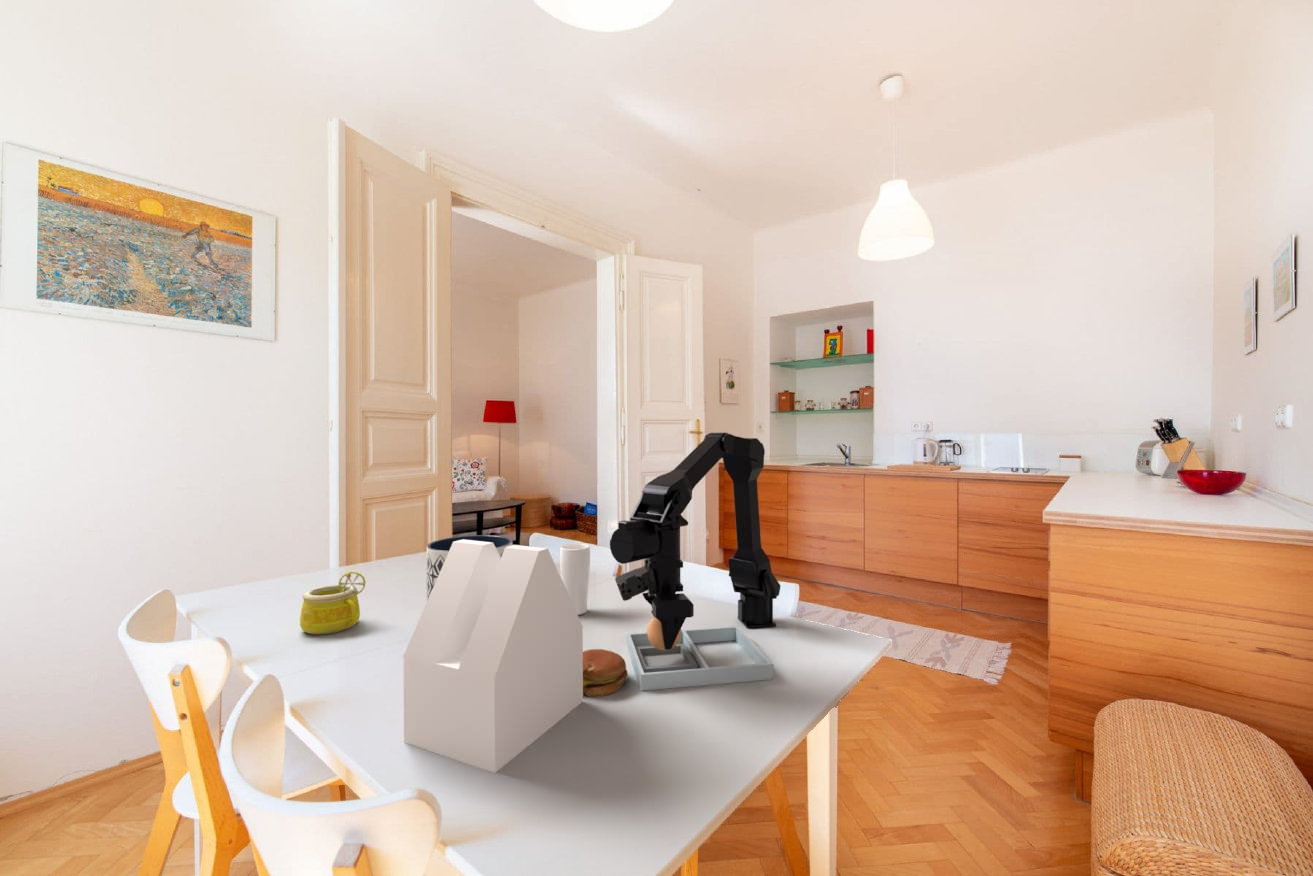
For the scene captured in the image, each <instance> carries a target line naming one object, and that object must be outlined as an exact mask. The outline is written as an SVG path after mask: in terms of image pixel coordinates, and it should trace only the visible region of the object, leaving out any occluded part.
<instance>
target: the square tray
mask: <svg viewBox="0 0 1313 876" xmlns="http://www.w3.org/2000/svg"><path fill="white" fill-rule="evenodd" d="M635 649H636V652H637V655H638V658H639V660H640V663H641V666H642V669H643V671H644V673H650V672H662V671H674V670H687V669H698V665H697V663H696V662H695V660H694V658H693V657H692V655H691V653H690V652H689V650H688V648H687V647H686V645H685V643H684V644H677V645H676V646H675V647H674V648H672V649H670V650H659V649H657V648H655V647H654V646H643V647H635Z"/></svg>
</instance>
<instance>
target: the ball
mask: <svg viewBox="0 0 1313 876" xmlns="http://www.w3.org/2000/svg"><path fill="white" fill-rule="evenodd" d="M681 630H682V628H681V629H680V631H679V633H678V635H677V638H676V640H675V642H674V644H673V646H672V648H674V647H675V646H676V645H677V644H678V642H679V641H680V638H681ZM647 635H648V639H649V641H650V643H651V644H652V645H653V646H654V647H655V648H657V649H659V650H666V649H665V647H664V642H663V636H662V631H661V625H660V621H659V620H658V619H656V618H655V617H654V616H653V618H652V619H651V620H650V622H649V624H648V626H647ZM669 650H670V649H669Z"/></svg>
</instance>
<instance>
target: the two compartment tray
mask: <svg viewBox="0 0 1313 876" xmlns="http://www.w3.org/2000/svg"><path fill="white" fill-rule="evenodd" d="M726 641H735V642H736V643H737V644H738V645H739V646H740V647H741V649H742V650H743V651H744V652H745V653H746V654H747V655H748V657H749V658H750V659H751V660H752V661H753V662H754V663H750V664H738V665H726V666H713V667H712V666H711V667H709V665H708V664H707V662H706V661H705V658H704V657H703V656H702V655H701V653H700V652H699V650H698V648H697V647H696V645H695V644H699V643H714V642H715V643H716V642H726ZM684 643H685V645H686V647H687V648H688V650H689V652H690V653H691V655H692V657H693V658H694V660H695V662H696V663H697V665H698V669H687V670H674V671H662V672H650V673H644V671H643V669H642V666H641V663H640V660H639V658H638V655H637V652H636V649H635V647H643V646H653V645H652V644H651V643H650V641H649V639H648V635H647V632H635V633H634V632H629V633H626V649H627V653H628V654H629V658H630V660H631V664H632V667H633V671H634V675H635V676H636V679H637V683H638V687H639V689H640V692H643V691H653V690H664V689H666V690H667V689H676V688H687V687H688V688H689V687H698V686H699V687H700V686H709V685H710V686H711V685H721V684H733V683H742V682H744V683H745V682H755V681H758V682H759V681H767V680H769V681H770V680H774V675H773V674H774V664H773V663H772V661H770V659H769V658H768V657H767V656H766V655H765V654H764V653H763V652H762V651H761V650H760V649H759V647H757V646H756V644H755V643H754V642H753V641H752V640H751V639H750V637H748V636H747V635H746V634H745V632H744V631H742V629H741V628H740V627H739V626H738V625H736V626H735V625H734V626H718V627H706V628H705V627H704V628H693V629H692V628H689V629H681V638H680V641H679V642H678V644H684Z"/></svg>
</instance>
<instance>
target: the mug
mask: <svg viewBox="0 0 1313 876" xmlns="http://www.w3.org/2000/svg"><path fill="white" fill-rule="evenodd" d="M352 574H355V575H356V576H355V578H354V579H353V582H352V580H351V577H352ZM344 577H345V578H346V580H345V582H342V580H343V579H344ZM359 577H360V578H361V579H362V581H363V582H356V580H357V579H358V578H359ZM348 582H349V583H348ZM355 585H360V586H362V588H361V590H360V591H358V588H357V587H355ZM365 587H366V578H365V576H364V575H362V573H361V572H358V571H349V572H345V574H343V575H342V576H341V577H340V578H339V581H338V584H332V585H324V586H323V585H322V586H319V587H315V588H312V589H310V590H308V591H306V592H305V593H304V594H303V595H302V598H303V599H302V600H303V602H302V604H301V611H300V617H299V626H300V628H301V630H302V631H304V633H308V634H311V635H327V634H334V633H338V632H341V631H344V630H347V629H349V628H351V627H353V626H355V625H356V624H357V623H358V621H359V620H360V616H361V610H360V604H359V598H358V595H359V594H361V593H362V592H363V591H364V589H365Z"/></svg>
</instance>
